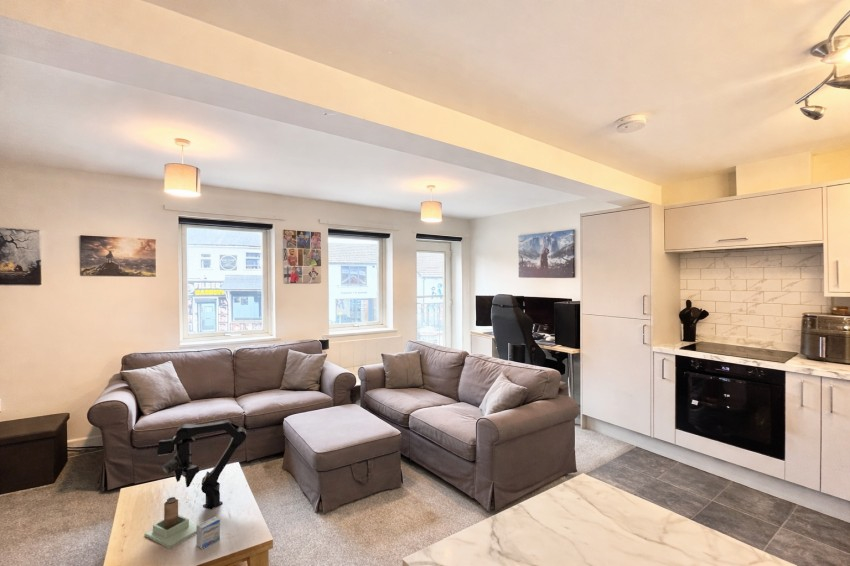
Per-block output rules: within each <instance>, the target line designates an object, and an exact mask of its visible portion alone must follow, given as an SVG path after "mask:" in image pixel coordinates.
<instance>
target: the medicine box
mask: <svg viewBox="0 0 850 566" xmlns="http://www.w3.org/2000/svg"><path fill="white" fill-rule="evenodd" d="M196 525H197V526H196V534H195V535H196V536H195V537H196V541H195V542H196V543H195V545H196V546H197V547H198V548H200V549H202V548H203V549H204V547H205V548H206V547H208V546H211V544H214V543H215V542H217V541H219V540H220V538H221V519H220V518H218V517H217V516H213V517H211V518H209V519H207V520H205V521H203V522H200V523H199V524H196Z"/></svg>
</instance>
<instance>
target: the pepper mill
mask: <svg viewBox="0 0 850 566" xmlns="http://www.w3.org/2000/svg"><path fill="white" fill-rule="evenodd" d="M163 505H164V506H163V507H164V509H163V510H164V511H163V512H164V514H163V515H164V516H163V518H164V519H163V520H164V529H166V530H168V529H170V528H172V527H174V526H176V525H177V524H178V515H179V499H177V498H176V496H173V497H169V498H167V499H166V501H165V502H164V503H163Z"/></svg>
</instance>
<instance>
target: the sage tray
mask: <svg viewBox="0 0 850 566" xmlns="http://www.w3.org/2000/svg"><path fill="white" fill-rule="evenodd" d="M197 525H198V524H195V523H193V522H190V519H189V518H186V517H185V516H183V515H180V514H178V524H177V525H176V526H174V527H172V528H170V529H168V530H166V529H164V519H162V520H160V521H158V522H156V523H154V524H153V525H152V528H151V529H150V530H148V531H146V532H145V533H144V537H146V538H148V539H151V541H154V542H156V543H158V544H159V545H161V546H163V547H166V548H168V549H169V548H170V549H172V548H174V547H175V545H176V546H177V545H180V544H181V543H182V541H183V542H184V541H186V540H187V538H188V539H189V538H191V537H193V536H195V535H196V526H197ZM194 534H195V535H194ZM192 535H193V536H192ZM173 546H174V547H173Z"/></svg>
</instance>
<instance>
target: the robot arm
mask: <svg viewBox="0 0 850 566" xmlns="http://www.w3.org/2000/svg"><path fill="white" fill-rule="evenodd" d="M222 431H225V432H226V433H227V434H228V435H230V437H231V439H230V442H229V444H228V446H227V447H226V448H225V450H224V451H223V453H222V455H221V456H220V458H219V460H218V461H217V463H216V465H215V466H214V467H213V469H212V470H211V471H210V472H209V471H206V473H205V475H204V476H203V477H202V479H201V488H200V489H201V492H202V493H203V494H205V503H204V504H202V507H204V508H205V509H208V510H213V509H215V508H217V507H219V506H220V505H223V501H221V492H220V487H221V485H220V484H221V483H220V482H218V480H219V477H220V475H221V474H222V472H223V470H224V469H225V467H226V466H227V464H228V462H229V461H230V460H231V458H232V456H233V455H234V453H235V451H236V450H237V449H238V448H239V447H240V446H241V445H242V444H243V443H244V442H245V440H246V439H247V430H246V429H245V428H244V427H242V426H241V427H240V426H238V424H236V423H233V422H232V421H230V420H228V419H226V420H221V421H216V422H209V423H208V422H207V423H202V424H195V423H183V424H180V425H179V426H178V428H177V431H176V433H175V435H173V438H170V439H160V440H159V441H158V446H157V451H156V453H157V456H158V457H160V456H166V455H171V454H174V453H173V452H175V451H176V453H175V454H174V456H173V458H172V459H170V460H168V461H167V462H166V463H165V464H163V465H161V467H162V470H163V472H164V473H165V474H167V475H170V474H172V473H173V474H174V478H175V480H176V482H177V483H178V482H180V481H181V478H182V477H183V478H184V479H185V487H186V488H189V487H190V486H191V483H192V482H193V480H194V479H195V477H196V475H197V474H198V473H200V467H199V466H197V465H195V464H193V461H192V460H191V456H193V453H192V452H191V443H194V442H195V440H196V438H195V437H196V436H199V435H203V434H208V433H215V432H222ZM191 464H192V465H191Z"/></svg>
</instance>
